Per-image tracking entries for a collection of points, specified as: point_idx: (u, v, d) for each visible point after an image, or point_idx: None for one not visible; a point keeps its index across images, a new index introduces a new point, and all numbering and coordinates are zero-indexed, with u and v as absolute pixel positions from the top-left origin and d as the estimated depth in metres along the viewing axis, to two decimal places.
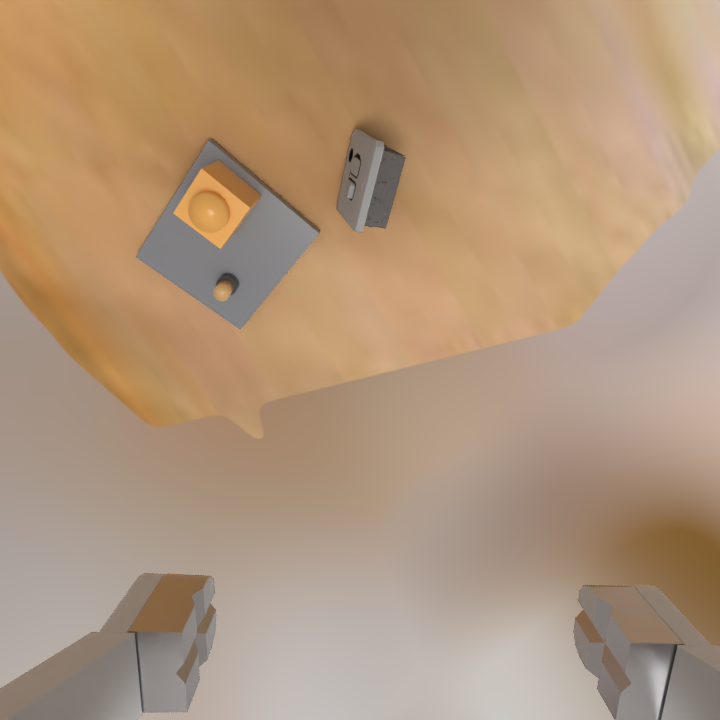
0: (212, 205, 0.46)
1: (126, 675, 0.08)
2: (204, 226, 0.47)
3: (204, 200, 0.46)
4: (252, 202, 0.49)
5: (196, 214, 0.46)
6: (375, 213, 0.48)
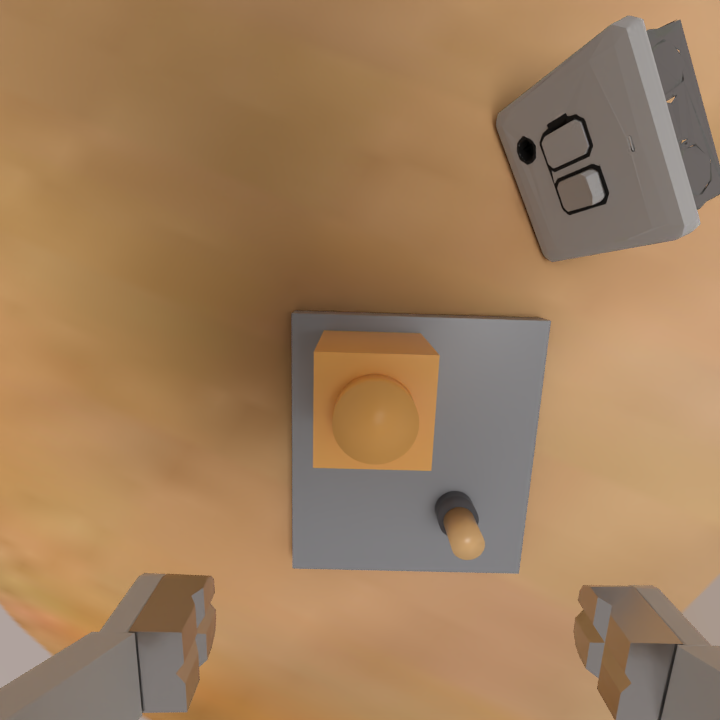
0: (375, 401, 0.20)
1: (126, 675, 0.08)
2: (384, 451, 0.20)
3: (356, 403, 0.20)
4: (427, 346, 0.23)
5: (357, 440, 0.20)
6: (691, 174, 0.20)
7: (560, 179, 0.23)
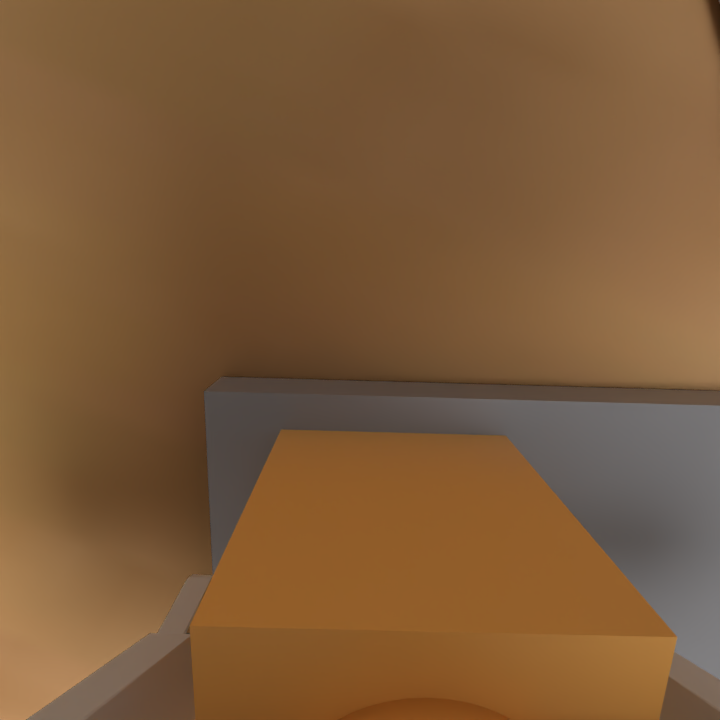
0: None
1: (184, 676, 0.08)
2: None
3: None
4: (573, 532, 0.08)
5: None
6: None
7: None
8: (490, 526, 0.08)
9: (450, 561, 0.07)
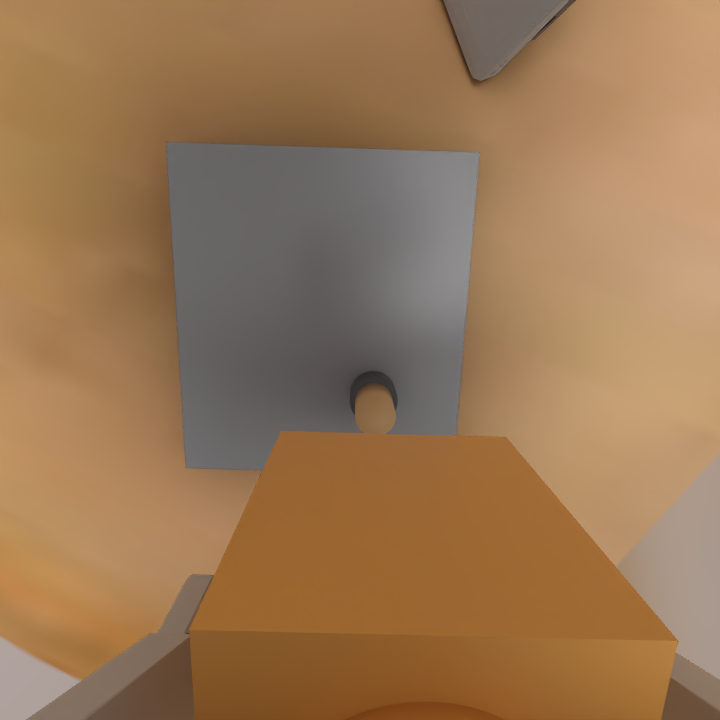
0: None
1: (184, 676, 0.08)
2: None
3: None
4: (573, 535, 0.08)
5: None
6: None
7: None
8: (490, 528, 0.08)
9: (450, 564, 0.07)
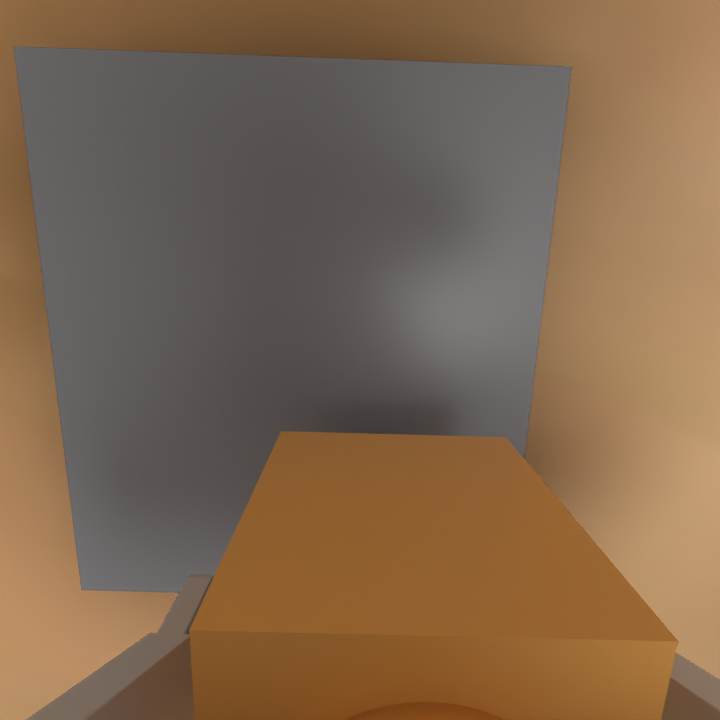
0: None
1: (185, 676, 0.08)
2: None
3: None
4: (573, 535, 0.07)
5: None
6: None
7: None
8: (490, 529, 0.08)
9: (450, 564, 0.07)
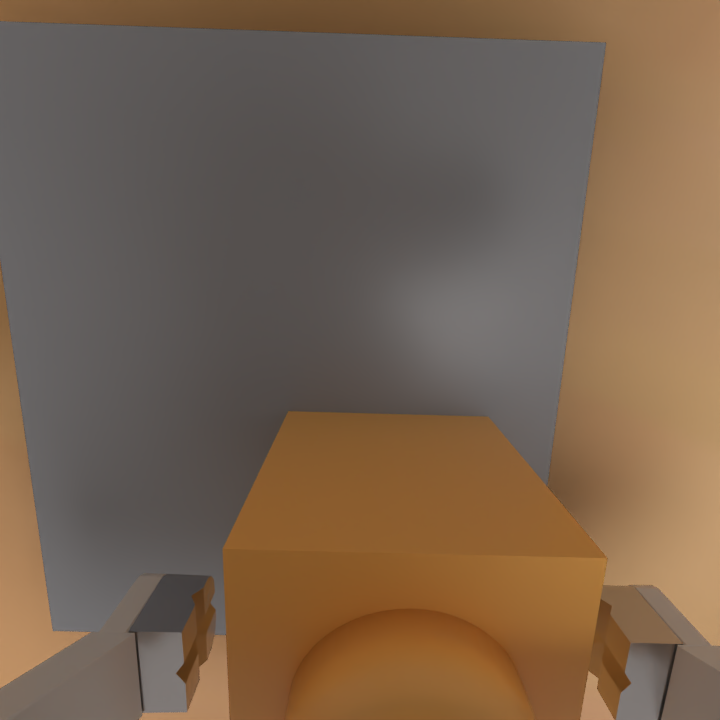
0: None
1: (126, 675, 0.08)
2: None
3: None
4: (536, 489, 0.09)
5: None
6: None
7: None
8: (467, 484, 0.09)
9: (431, 508, 0.08)
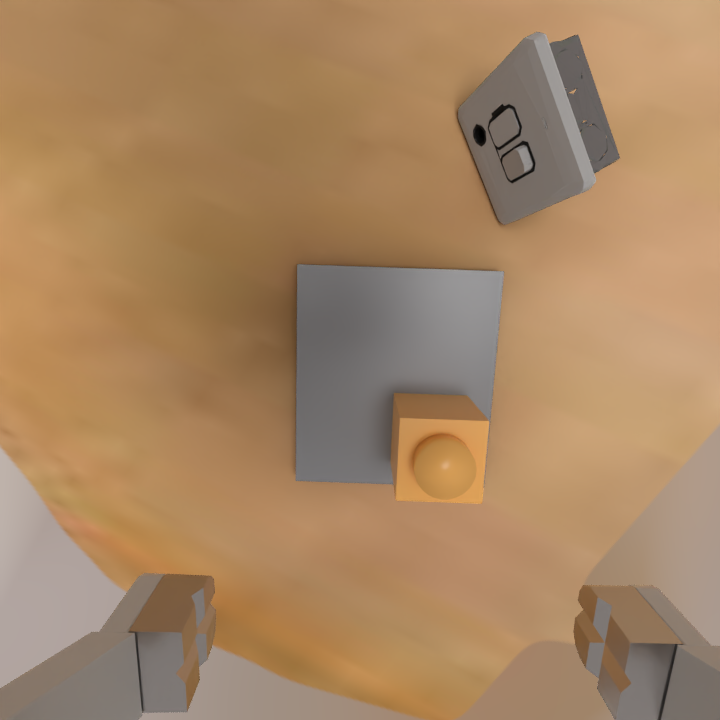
0: (446, 455, 0.28)
1: (126, 675, 0.08)
2: (451, 490, 0.29)
3: (432, 456, 0.28)
4: (477, 411, 0.32)
5: (432, 482, 0.29)
6: (591, 145, 0.27)
7: (503, 155, 0.30)
8: (457, 410, 0.32)
9: (448, 413, 0.31)
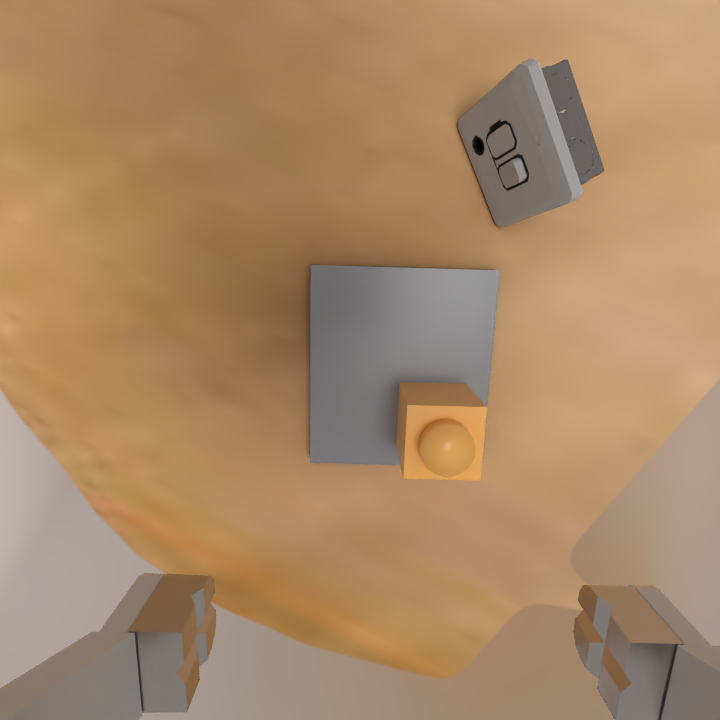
0: (448, 437, 0.32)
1: (126, 675, 0.08)
2: (453, 468, 0.33)
3: (436, 438, 0.32)
4: (476, 398, 0.35)
5: (436, 461, 0.32)
6: (579, 160, 0.30)
7: (500, 165, 0.33)
8: (458, 397, 0.35)
9: (449, 400, 0.34)
